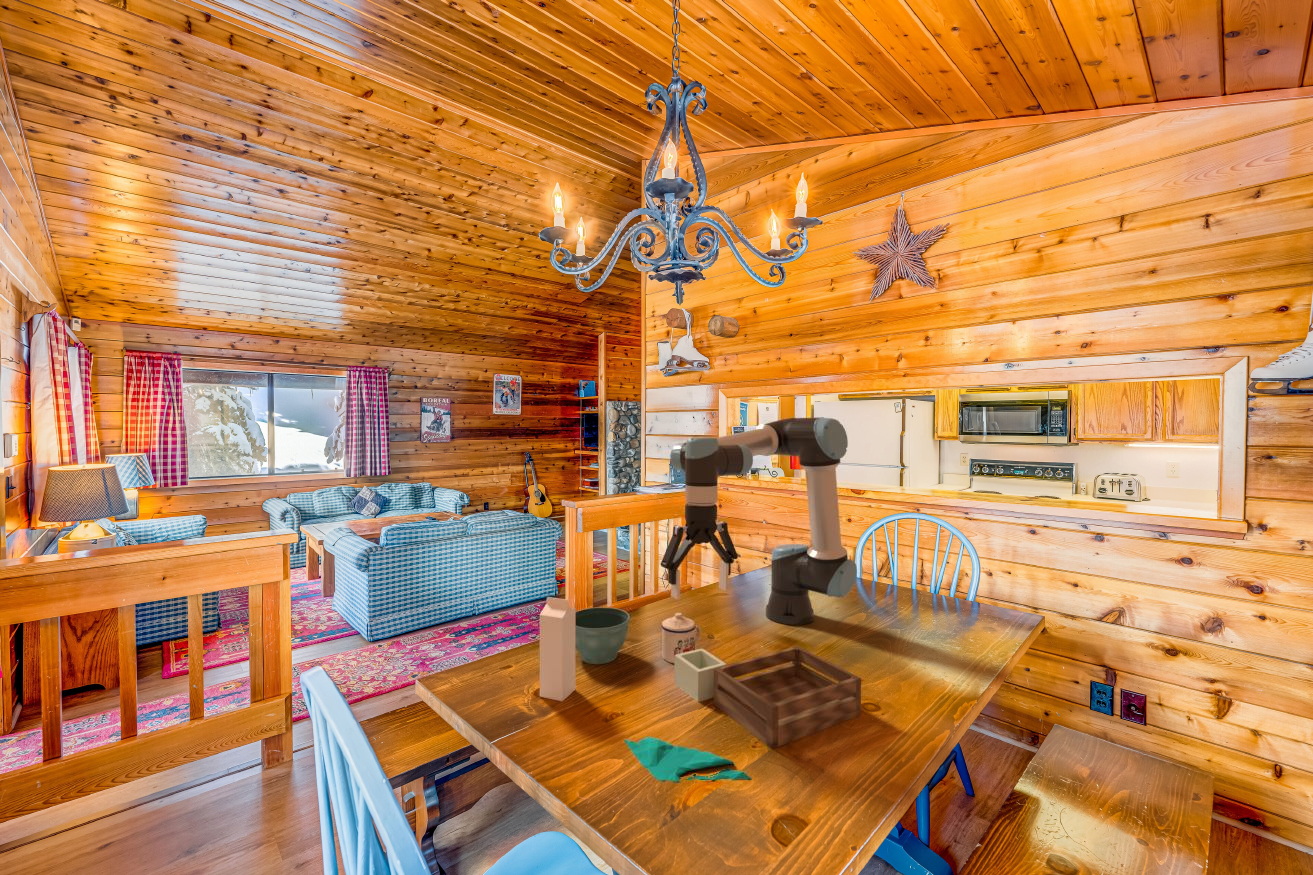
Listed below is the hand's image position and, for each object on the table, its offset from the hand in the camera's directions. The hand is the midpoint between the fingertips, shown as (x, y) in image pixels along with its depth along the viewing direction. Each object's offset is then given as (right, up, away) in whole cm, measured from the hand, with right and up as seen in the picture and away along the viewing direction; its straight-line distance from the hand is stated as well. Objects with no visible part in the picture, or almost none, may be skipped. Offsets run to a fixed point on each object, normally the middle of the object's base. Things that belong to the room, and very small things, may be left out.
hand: (700, 593), depth 127 cm
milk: (-33, -23, -2) cm, 40 cm away
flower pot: (-26, -22, +17) cm, 38 cm away
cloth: (-6, -24, -27) cm, 37 cm away
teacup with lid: (-3, -22, +18) cm, 29 cm away
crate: (+18, -23, -9) cm, 30 cm away
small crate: (0, -23, +1) cm, 23 cm away
